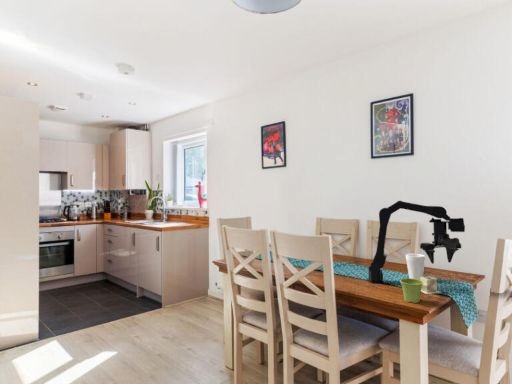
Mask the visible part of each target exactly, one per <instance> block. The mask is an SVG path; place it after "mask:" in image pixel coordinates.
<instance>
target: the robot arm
mask: <svg viewBox="0 0 512 384" xmlns="http://www.w3.org/2000/svg"><path fill="white" fill-rule="evenodd" d="M400 209H402V210H408V211H412V212H418V213H423V214H426V215H428V216H431V217H432V218H430V219H429V220H428V222H429V223H430V224H431V223H432V224H433V227H432V228H433V232H432V233H431V236H433V241H431V243H430V242H420V245H419V249H421V250H423V251H424V252H425V255H427V257H428V259H429V261H430V263H431V264H432V265H434V263H435V257H434V256H435V252H436V248H437V249H438V248H445V251H446V258H447V262H448V263H450V264H451V262H452V259H453V257H454V254H455V253H456V252H457V251H459V250H460V249H462V244H461V243H460V239H459V237H452V238H450V234H449V233H447V232H448V231H449V230H450V232H451V233H465V230H466V229H465V228H466V227H465V226H466V225H465V220H464V218H463V217H456V218H451V216H449V215H448V213H447V210H446V208H445V207H443V206H440V205H424V204H423V205H422V204H419V203H413V202H406V201H402V200H397V201H396V202H394V203H393V204H391V205H390V206H388V207H383V208H381V209H380V210H379V212H378V215H379V216H378V218H379V219H378V220H379V221H378V222H379V229H378V230H379V232H378V237H377V243H376V244H377V245H376V251H375V254H374V256H373V260H372V262H371V263H370V264H369V266H368V271H367V274H368V278H367V280H366V281H368V282H369V283H372V284H377V283H379V284H381V283H385V281H384V272H383V270H382V268H383V267H384V266H385V265H386V263H387V256H388V254H387V253H385V247H386V239H387V230H388V225H389V223H390V218H391V216H392V215H393V214H394V213H395V212H397V211H399V210H400ZM434 217H435V218H434ZM442 219H443V220H442ZM447 230H448V231H447Z"/></svg>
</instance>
